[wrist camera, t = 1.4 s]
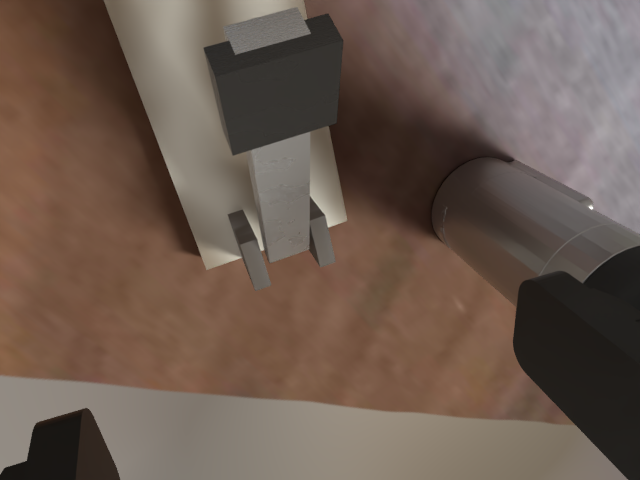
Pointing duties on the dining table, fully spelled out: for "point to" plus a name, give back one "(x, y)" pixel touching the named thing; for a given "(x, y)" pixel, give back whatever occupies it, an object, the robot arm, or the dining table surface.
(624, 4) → the dining table surface
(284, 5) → the press base
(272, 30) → the lever
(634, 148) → the dining table surface
